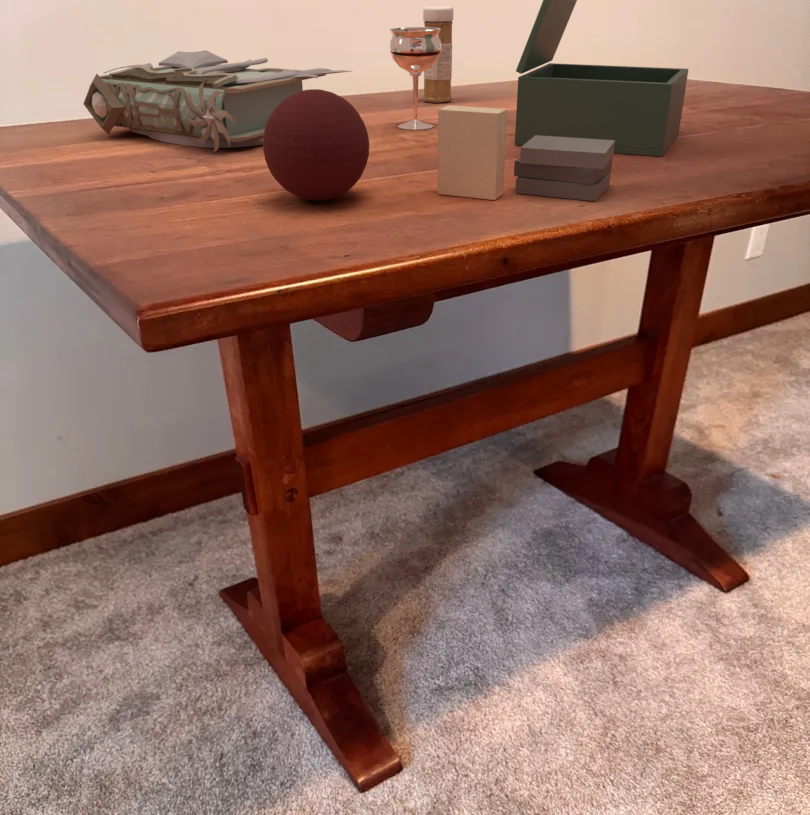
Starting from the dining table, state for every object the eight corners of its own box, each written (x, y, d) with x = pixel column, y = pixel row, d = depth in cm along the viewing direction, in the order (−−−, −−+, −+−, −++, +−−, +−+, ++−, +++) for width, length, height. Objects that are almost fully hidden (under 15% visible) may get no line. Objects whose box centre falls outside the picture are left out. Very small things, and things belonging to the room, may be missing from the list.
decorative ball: (335, 180, 84) (330, 78, 79) (391, 200, 77) (389, 90, 72) (250, 197, 79) (238, 89, 74) (301, 220, 72) (292, 102, 67)
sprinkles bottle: (418, 100, 128) (418, 6, 121) (444, 98, 129) (445, 5, 123) (430, 104, 124) (431, 7, 117) (457, 102, 126) (458, 6, 119)
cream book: (503, 194, 78) (507, 108, 74) (495, 200, 77) (498, 113, 73) (446, 188, 81) (447, 104, 77) (437, 194, 79) (438, 109, 75)
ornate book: (81, 143, 106) (247, 160, 92) (63, 65, 102) (235, 70, 87) (203, 116, 123) (361, 127, 108) (193, 47, 118) (356, 49, 103)
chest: (678, 134, 102) (688, 68, 98) (661, 156, 91) (672, 84, 88) (544, 125, 109) (549, 63, 105) (514, 145, 98) (518, 76, 94)
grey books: (613, 185, 81) (619, 139, 79) (599, 202, 75) (604, 154, 73) (530, 177, 84) (532, 133, 82) (510, 193, 79) (512, 146, 76)
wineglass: (420, 119, 113) (420, 26, 107) (450, 126, 108) (452, 29, 102) (381, 125, 110) (378, 29, 104) (410, 133, 105) (409, 32, 99)
